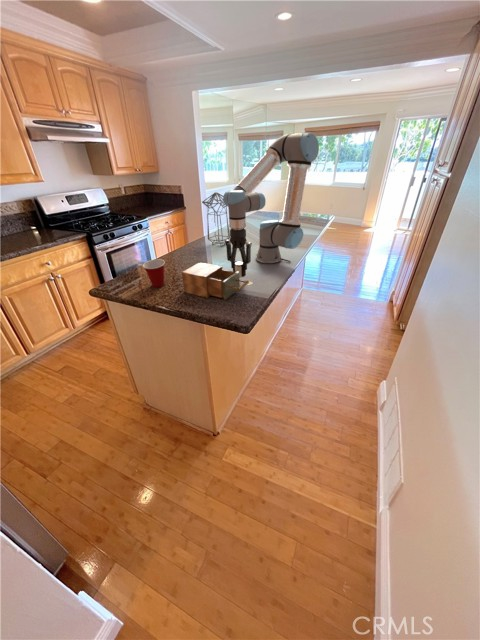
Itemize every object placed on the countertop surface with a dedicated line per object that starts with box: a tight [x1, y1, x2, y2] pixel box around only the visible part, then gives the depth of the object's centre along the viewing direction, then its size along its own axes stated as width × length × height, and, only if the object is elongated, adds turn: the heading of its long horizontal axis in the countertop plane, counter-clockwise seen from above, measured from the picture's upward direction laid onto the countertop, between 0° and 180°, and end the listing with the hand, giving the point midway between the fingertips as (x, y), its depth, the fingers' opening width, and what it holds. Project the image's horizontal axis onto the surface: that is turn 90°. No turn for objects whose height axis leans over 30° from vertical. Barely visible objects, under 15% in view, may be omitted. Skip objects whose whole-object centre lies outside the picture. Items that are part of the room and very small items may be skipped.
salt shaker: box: [235, 261, 243, 279], centre depth 134 cm, size 4×4×7 cm
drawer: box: [206, 268, 250, 300], centre depth 124 cm, size 18×13×9 cm
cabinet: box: [181, 262, 223, 299], centre depth 129 cm, size 13×14×10 cm
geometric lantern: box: [201, 191, 230, 247], centre depth 188 cm, size 16×16×35 cm
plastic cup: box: [142, 258, 166, 288], centre depth 134 cm, size 11×11×12 cm
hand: (239, 275), depth 136 cm, fingers closed on salt shaker, 4 cm apart
